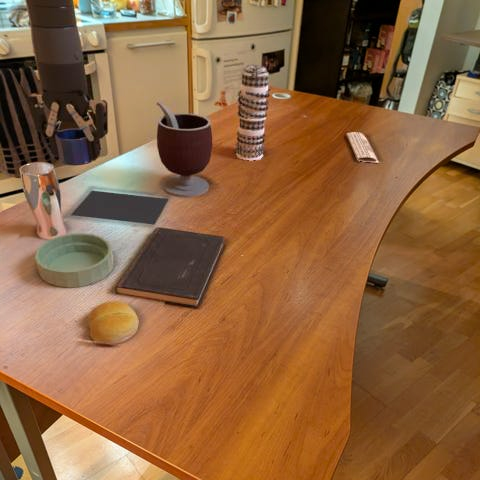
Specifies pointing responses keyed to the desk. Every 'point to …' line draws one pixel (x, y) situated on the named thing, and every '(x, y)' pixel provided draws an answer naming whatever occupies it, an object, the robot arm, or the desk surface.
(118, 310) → the bread roll
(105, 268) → the big bowl
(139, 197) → the mat
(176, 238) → the hardcover book
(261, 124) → the patterned cylindrical tower
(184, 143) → the mate gourd
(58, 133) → the small cup
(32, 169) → the beer glass
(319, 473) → the desk surface
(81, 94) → the robot arm
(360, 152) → the newspaper
